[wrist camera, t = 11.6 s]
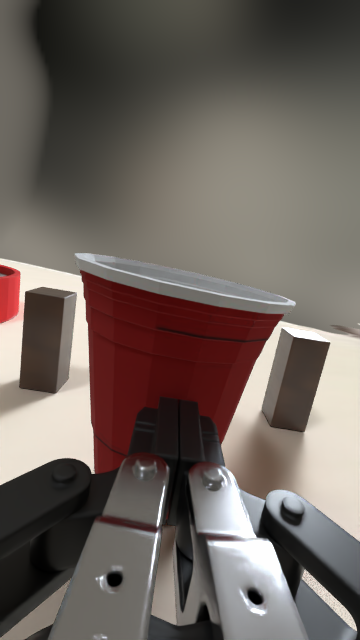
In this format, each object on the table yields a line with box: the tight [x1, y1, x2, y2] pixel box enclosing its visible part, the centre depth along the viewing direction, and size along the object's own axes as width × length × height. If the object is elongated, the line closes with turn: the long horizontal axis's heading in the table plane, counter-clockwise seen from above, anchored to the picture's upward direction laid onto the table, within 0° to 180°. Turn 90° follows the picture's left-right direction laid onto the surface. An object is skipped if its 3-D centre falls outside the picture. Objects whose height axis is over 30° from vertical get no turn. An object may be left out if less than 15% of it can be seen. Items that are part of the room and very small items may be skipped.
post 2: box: [262, 328, 330, 431], centre depth 27 cm, size 3×3×8 cm
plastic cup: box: [74, 253, 296, 519], centre depth 16 cm, size 11×11×12 cm
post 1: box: [19, 287, 77, 393], centre depth 26 cm, size 3×3×8 cm
